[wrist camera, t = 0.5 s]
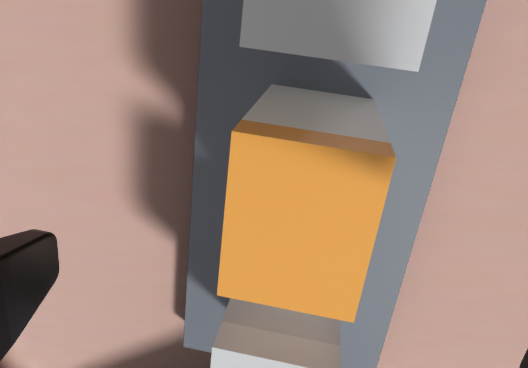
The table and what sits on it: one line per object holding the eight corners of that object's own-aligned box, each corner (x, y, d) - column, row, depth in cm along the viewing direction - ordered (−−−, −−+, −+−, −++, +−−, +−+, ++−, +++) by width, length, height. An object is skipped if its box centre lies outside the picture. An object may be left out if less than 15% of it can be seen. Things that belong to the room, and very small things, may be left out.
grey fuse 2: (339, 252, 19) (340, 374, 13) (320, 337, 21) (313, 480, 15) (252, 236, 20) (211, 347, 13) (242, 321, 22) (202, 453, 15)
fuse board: (528, -188, 14) (549, -209, 12) (368, 364, 23) (370, 387, 22) (226, -212, 15) (215, -234, 13) (191, 327, 24) (183, 346, 23)
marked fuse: (373, 99, 16) (396, 157, 10) (348, 213, 18) (353, 322, 12) (271, 83, 17) (231, 131, 10) (257, 197, 19) (216, 295, 12)
